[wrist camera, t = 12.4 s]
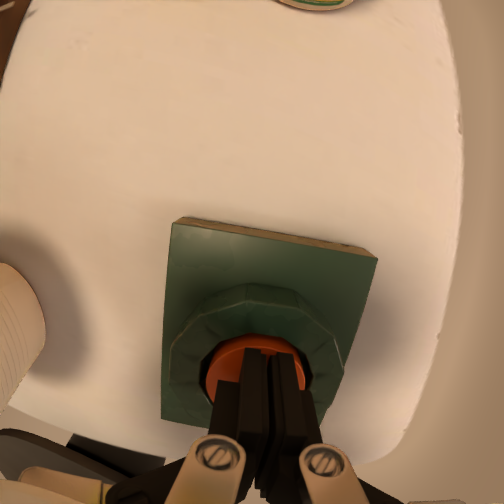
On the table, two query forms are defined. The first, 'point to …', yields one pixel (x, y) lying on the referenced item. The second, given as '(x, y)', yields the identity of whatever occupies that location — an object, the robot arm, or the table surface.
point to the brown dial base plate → (9, 26)
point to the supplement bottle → (318, 4)
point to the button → (231, 355)
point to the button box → (256, 307)
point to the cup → (17, 331)
